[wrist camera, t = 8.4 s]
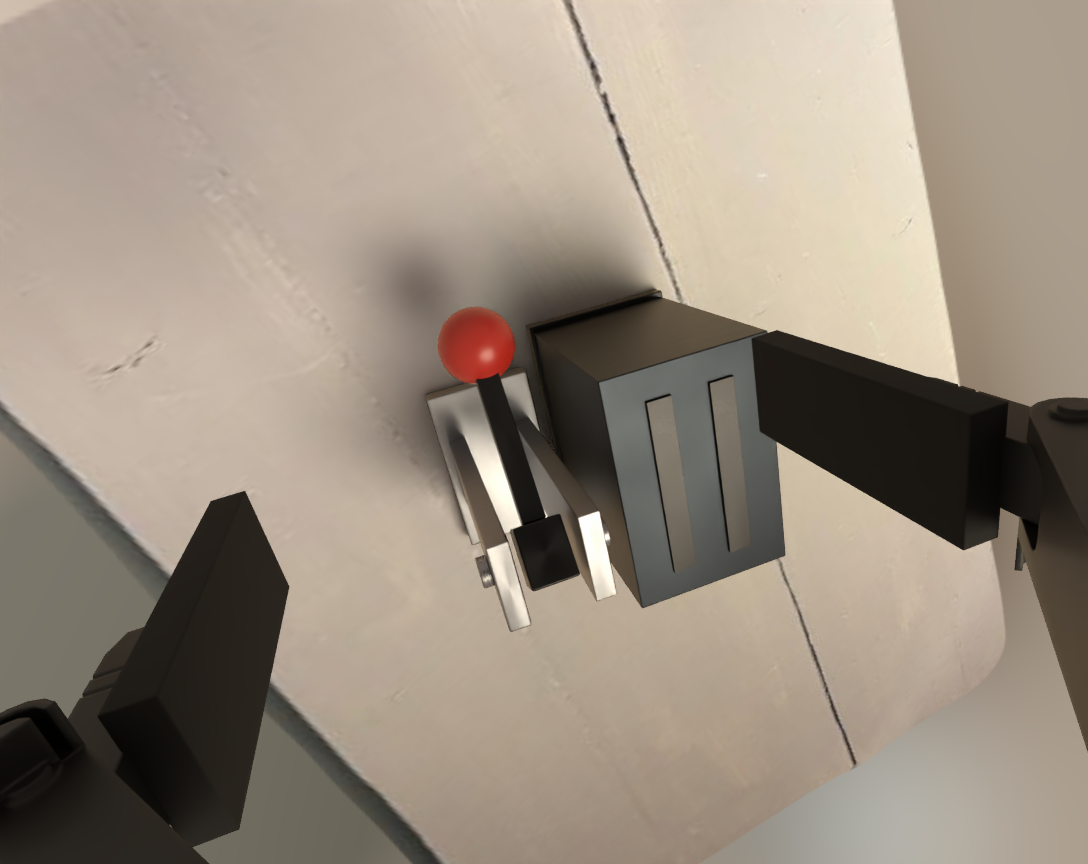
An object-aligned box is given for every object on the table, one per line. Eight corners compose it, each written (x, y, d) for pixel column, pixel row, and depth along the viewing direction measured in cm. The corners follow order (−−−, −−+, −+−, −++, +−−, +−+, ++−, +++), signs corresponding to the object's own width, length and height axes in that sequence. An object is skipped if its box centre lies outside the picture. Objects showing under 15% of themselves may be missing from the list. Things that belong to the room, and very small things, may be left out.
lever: (430, 333, 31) (425, 306, 28) (499, 313, 32) (503, 285, 28) (512, 591, 30) (517, 599, 26) (583, 566, 30) (598, 570, 27)
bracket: (424, 394, 37) (453, 493, 24) (521, 366, 38) (598, 446, 25) (469, 536, 41) (514, 685, 28) (556, 507, 42) (637, 638, 29)
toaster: (525, 325, 37) (593, 377, 26) (656, 288, 38) (773, 323, 27) (568, 507, 42) (640, 616, 31) (682, 469, 43) (791, 560, 32)
